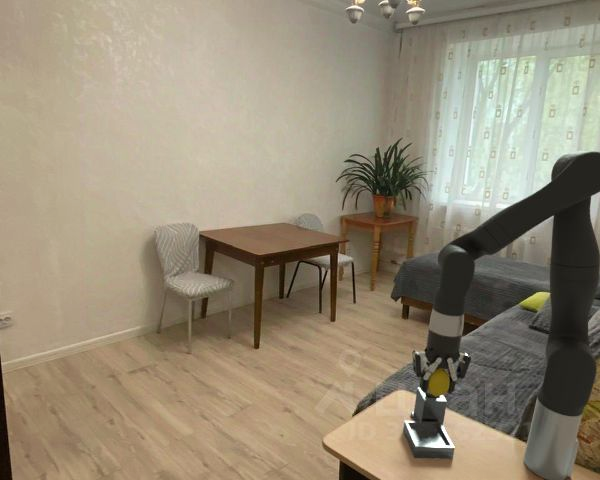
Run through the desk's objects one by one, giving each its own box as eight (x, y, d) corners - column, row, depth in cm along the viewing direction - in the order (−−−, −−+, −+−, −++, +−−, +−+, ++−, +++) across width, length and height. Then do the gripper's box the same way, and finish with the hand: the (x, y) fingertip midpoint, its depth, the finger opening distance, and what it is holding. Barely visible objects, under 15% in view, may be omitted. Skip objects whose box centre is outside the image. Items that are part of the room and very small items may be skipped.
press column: (435, 415, 119) (439, 387, 117) (444, 432, 112) (449, 402, 110) (410, 414, 119) (415, 386, 117) (418, 431, 112) (423, 401, 110)
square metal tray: (438, 432, 112) (440, 422, 111) (452, 459, 103) (454, 447, 102) (403, 431, 112) (404, 420, 111) (414, 457, 102) (415, 446, 102)
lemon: (432, 387, 108) (436, 359, 106) (451, 398, 104) (456, 368, 102) (419, 394, 104) (423, 365, 103) (438, 405, 100) (443, 375, 98)
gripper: (468, 322, 104) (458, 384, 108) (411, 320, 103) (403, 382, 107) (482, 336, 97) (471, 401, 100) (421, 334, 96) (411, 399, 100)
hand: (436, 391), depth 104 cm, fingers closed on lemon, 5 cm apart
